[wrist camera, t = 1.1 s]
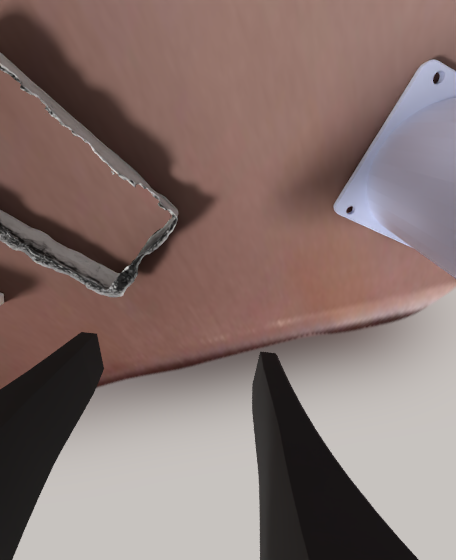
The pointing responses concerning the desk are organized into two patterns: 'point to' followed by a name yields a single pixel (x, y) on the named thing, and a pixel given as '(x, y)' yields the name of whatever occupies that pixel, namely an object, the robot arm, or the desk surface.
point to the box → (1, 298)
